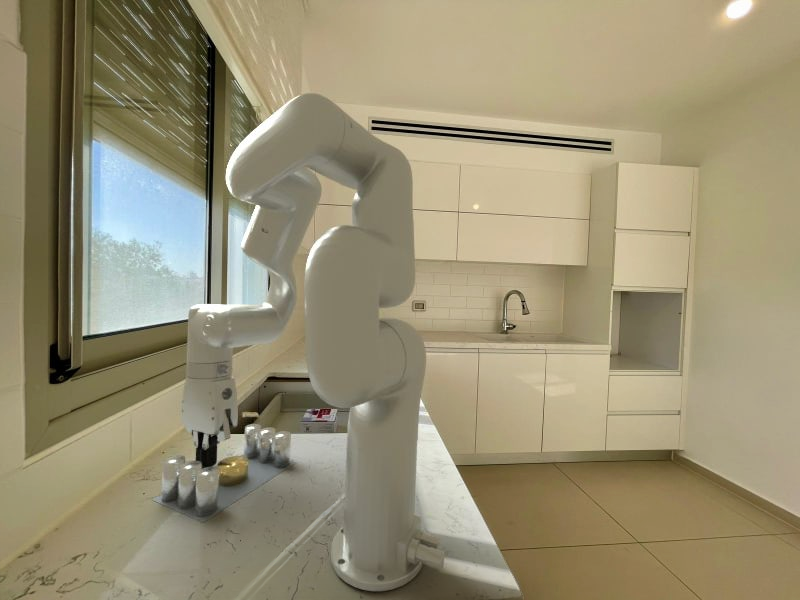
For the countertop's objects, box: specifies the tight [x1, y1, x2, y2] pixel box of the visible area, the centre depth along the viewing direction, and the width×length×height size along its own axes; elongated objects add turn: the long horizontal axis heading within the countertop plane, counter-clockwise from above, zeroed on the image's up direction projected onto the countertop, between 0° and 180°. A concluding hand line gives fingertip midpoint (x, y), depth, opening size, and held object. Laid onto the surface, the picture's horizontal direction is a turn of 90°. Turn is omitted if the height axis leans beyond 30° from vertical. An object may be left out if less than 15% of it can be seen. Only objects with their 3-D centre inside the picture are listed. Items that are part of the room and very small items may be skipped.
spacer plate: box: [151, 453, 297, 523], centre depth 60 cm, size 12×20×1 cm, turn 157°
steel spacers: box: [161, 423, 292, 517], centre depth 60 cm, size 11×19×6 cm, turn 157°
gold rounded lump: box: [216, 455, 248, 487], centre depth 60 cm, size 5×5×3 cm
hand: (206, 466), depth 62 cm, fingers closed
